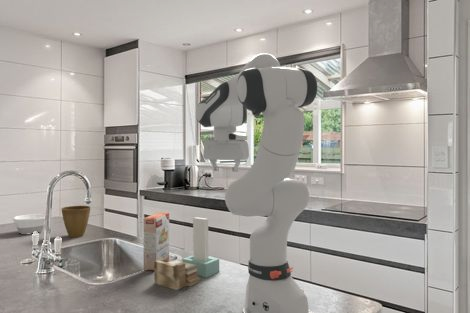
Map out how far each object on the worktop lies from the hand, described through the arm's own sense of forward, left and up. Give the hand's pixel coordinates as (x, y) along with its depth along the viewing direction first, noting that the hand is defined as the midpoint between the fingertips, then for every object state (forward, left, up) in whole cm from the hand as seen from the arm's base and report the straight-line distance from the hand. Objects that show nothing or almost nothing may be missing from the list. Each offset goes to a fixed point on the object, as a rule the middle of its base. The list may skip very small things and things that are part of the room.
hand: (225, 171), depth 145 cm
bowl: (+123, +57, -39) cm, 141 cm away
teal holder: (+5, +9, -39) cm, 40 cm away
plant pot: (+97, +37, -39) cm, 111 cm away
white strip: (+4, +9, -38) cm, 39 cm away
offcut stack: (+1, +20, -39) cm, 44 cm away
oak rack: (-1, +24, -39) cm, 46 cm away
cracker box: (+22, +20, -39) cm, 49 cm away
